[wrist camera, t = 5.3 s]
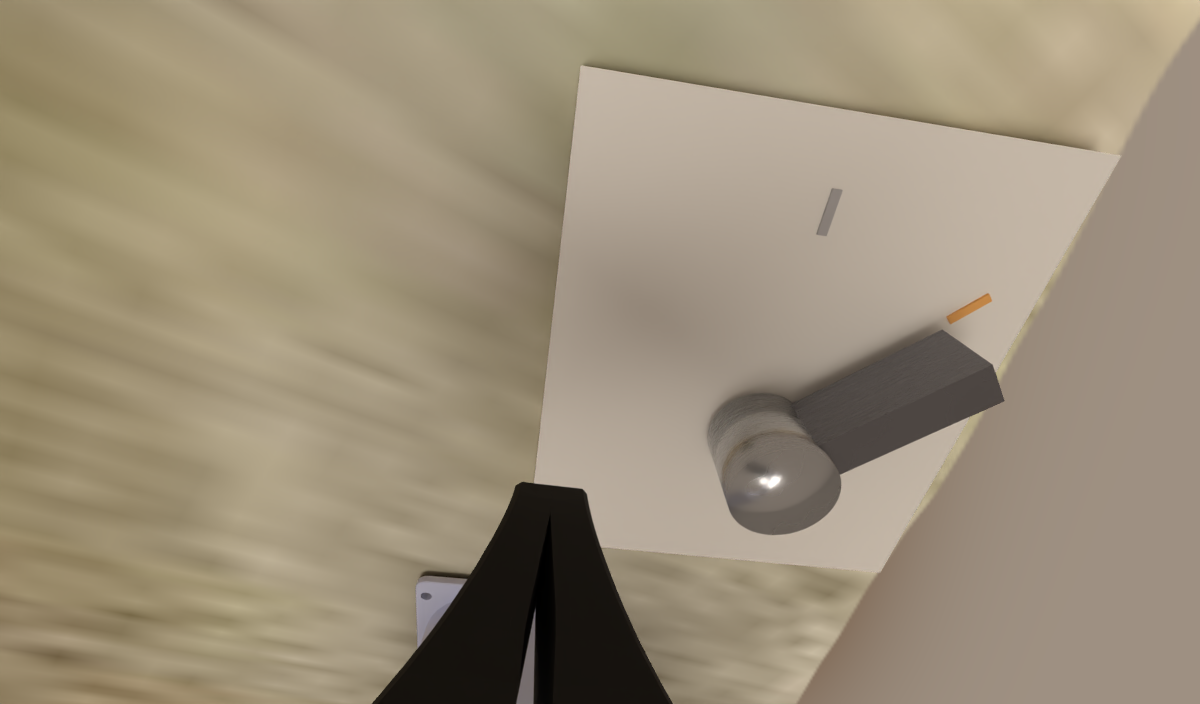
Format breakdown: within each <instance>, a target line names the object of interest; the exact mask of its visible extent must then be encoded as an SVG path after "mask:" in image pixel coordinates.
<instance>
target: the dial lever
mask: <svg viewBox="0 0 1200 704" xmlns="http://www.w3.org/2000/svg"><path fill="white" fill-rule="evenodd" d="M1003 401H1004V399H1003V395H1002V392H1001V389H1000V386H999V383H998V380H997V376H996V373H995V370H994V367H993V364H991V363H990V362H988V361H987V360H985V359H984V358H983V357H981V356H980V355H978V354H977V353H975V352H974V351H972V350H971V349H970V348H968V347H967V346H965V345H964V344H962V343H961V342H960V341H958V340H957V339H955V338H954V337H952V336H951V335H950V334H948V333H947V332H945V331H944V330H940V331H938V332H936V333H934V334H932V335H930V336H928V337H926V338H924V339H922V340H920V341H918V342H916V343H914V344H912V345H910V346H908V347H906V348H903V349H901V350H899V351H897V352H895V353H893V354H891V355H889V356H887V357H885V358H883V359H881V360H879V361H877V362H875V363H873V364H871V365H869V366H867V367H865V368H863V369H861V370H859V371H857V372H855V373H853V374H851V375H849V376H847V377H845V378H843V379H841V380H839V381H837V382H835V383H833V384H831V385H829V386H827V387H825V388H823V389H821V390H818V391H816V392H814V393H812V394H810V395H808V396H806V397H804V398H802V399H800V400H798V401H796V402H794V403H792V402H791V401H790V400H788V399H786V398H785V397H782V396H780V395H776V394H770V393H755V394H750V395H746V396H743V397H740V398H738V399H735V400H733V401H732V402H730V403H728V404H727V405H726V406H724V407H723V408H722V409H721V410H720V411H719V412H718V413H717V414H716V415H715V417H714V418H713V420H712V422H711V424H710V426H709V429H708V435H707V441H708V446H709V450H710V453H711V456H712V459H713V462H714V465H715V468H716V471H717V474H718V477H719V480H720V484H721V487H722V490H723V493H724V496H725V499H726V502H727V505H728V508H729V511H730V513H731V515H732V517H733V518H734V519H735V521H736V522H737V523H739V524H740V525H741V526H743V527H744V528H746V529H748V530H750V531H752V532H756V533H759V534H765V535H784V534H790V533H794V532H798V531H801V530H803V529H806V528H808V527H810V526H812V525H814V524H815V523H817V522H819V521H820V520H821V519H823V518H824V517H825V516H826V515H827V514H828V513H829V512H830V511H831V510H832V508H833V507H834V506H835V504H836V502H837V500H838V498H839V496H840V492H841V478H840V475H841V474H843V473H845V472H847V471H850V470H852V469H854V468H856V467H858V466H861V465H863V464H865V463H867V462H870V461H872V460H874V459H876V458H879V457H881V456H883V455H885V454H888V453H890V452H892V451H894V450H896V449H899V448H901V447H903V446H905V445H908V444H910V443H912V442H914V441H917V440H919V439H921V438H923V437H926V436H928V435H930V434H932V433H934V432H937V431H939V430H941V429H943V428H946V427H948V426H950V425H952V424H955V423H957V422H959V421H961V420H963V419H966V418H968V417H970V416H972V415H975V414H977V413H979V412H981V411H984V410H986V409H988V408H990V407H993V406H995V405H997V404H999V403H1001V402H1003Z"/></svg>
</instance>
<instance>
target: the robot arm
mask: <svg viewBox="0 0 1200 704" xmlns="http://www.w3.org/2000/svg"><path fill="white" fill-rule="evenodd" d="M416 615H417V648H418V649H417V650H416V651H415V653H414V654H413V655H412V656H411V658H410V659H409V660H408V661H407V663H406V664H405V665H404V666H403V668H402V669H401V670H400V671H399V672H398V673H397V675H396V676H395V677H394V678H393V679H392V681H391V682H390V683H389V684H388V685H387V687H386V688H385V689H384V690H383V691H382V692H381V694H380V695H379V696H378V697H377V698H376V700H375V701H374V702H373V703H372V704H673V703H672V701H671V700H670V698H669V696H668V694H667V693H666V691H665V689H664V687H663V686H662V684H661V682H660V680H659V678H658V676H657V674H656V672H655V671H654V669H653V667H652V665H651V663H650V661H649V659H648V657H647V655H646V653H645V651H644V649H643V647H642V645H641V643H640V641H639V639H638V637H637V635H636V633H635V631H634V629H633V626H632V624H631V622H630V620H629V617H628V615H627V613H626V611H625V609H624V606H623V604H622V602H621V599H620V597H619V594H618V592H617V590H616V587H615V584H614V582H613V579H612V577H611V574H610V571H609V569H608V566H607V563H606V561H605V558H604V555H603V552H602V549H601V546H600V543H599V540H598V537H597V534H596V530H595V527H594V523H593V520H592V516H591V512H590V507H589V503H588V497H587V493H586V492H585V491H584V490H583V489H580V488H571V487H562V486H553V485H545V484H536V483H527V482H521V483H520V484H518V485H516V487H515V490H514V493H513V496H512V499H511V501H510V504H509V506H508V508H507V510H506V513H505V515H504V517H503V519H502V521H501V523H500V525H499V527H498V528H497V530H496V532H495V534H494V536H493V538H492V539H491V541H490V543H489V545H488V546H487V548H486V550H485V551H484V553H483V555H482V557H481V558H480V560H479V562H478V563H477V565H476V567H475V568H474V570H473V571H472V573H471V575H470V576H469V578H468V579H462V578H450V577H438V576H423V577H420V578H419V579H418V582H417V585H416Z"/></svg>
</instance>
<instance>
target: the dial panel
mask: <svg viewBox="0 0 1200 704" xmlns="http://www.w3.org/2000/svg"><path fill="white" fill-rule="evenodd" d="M1120 157H1121V155H1115V154H1109V153H1103V152H1097V151H1091V150H1085V149H1079V148H1073V147H1067V146H1061V145H1055V144H1049V143H1043V142H1037V141H1031V140H1025V139H1019V138H1013V137H1007V136H1001V135H995V134H989V133H983V132H977V131H971V130H965V129H959V128H953V127H947V126H941V125H936V124H930V123H924V122H918V121H912V120H906V119H900V118H894V117H888V116H882V115H876V114H870V113H864V112H858V111H852V110H846V109H840V108H834V107H828V106H822V105H816V104H810V103H804V102H798V101H792V100H786V99H780V98H774V97H768V96H762V95H756V94H750V93H744V92H738V91H732V90H726V89H720V88H714V87H708V86H702V85H696V84H690V83H684V82H678V81H672V80H666V79H660V78H654V77H648V76H642V75H636V74H630V73H624V72H618V71H612V70H606V69H600V68H594V67H588V66H582V65H581V68H580V77H579V86H578V94H577V103H576V112H575V121H574V130H573V139H572V148H571V157H570V166H569V175H568V184H567V193H566V202H565V210H564V219H563V228H562V237H561V246H560V255H559V264H558V273H557V282H556V291H555V300H554V309H553V318H552V326H551V335H550V344H549V353H548V362H547V371H546V380H545V389H544V398H543V407H542V416H541V425H540V434H539V442H538V451H537V460H536V469H535V478H534V483H536V484H545V485H553V486H562V487H571V488H580V489H583V490H584V491H585V492H586V493H587V497H588V503H589V507H590V512H591V516H592V520H593V523H594V527H595V530H596V534H597V537H598V540H599V543H600V546H601V547H603V548H614V549H625V550H636V551H647V552H658V553H669V554H680V555H691V556H702V557H713V558H724V559H735V560H746V561H757V562H767V563H778V564H789V565H800V566H811V567H822V568H833V569H844V570H855V571H866V572H877V573H880V572H881V570H882V568H883V567H884V565H885V563H886V561H887V560H888V558H889V556H890V554H891V553H892V551H893V549H894V548H895V546H896V544H897V542H898V541H899V539H900V537H901V535H902V534H903V532H904V530H905V529H906V527H907V525H908V523H909V522H910V520H911V518H912V516H913V515H914V513H915V511H916V510H917V508H918V506H919V504H920V503H921V501H922V499H923V497H924V496H925V494H926V492H927V491H928V489H929V487H930V485H931V484H932V482H933V480H934V479H935V477H936V475H937V473H938V472H939V470H940V468H941V466H942V465H943V463H944V461H945V460H946V458H947V456H948V454H949V453H950V451H951V449H952V447H953V446H954V444H955V442H956V441H957V439H958V437H959V435H960V434H961V432H962V430H963V428H964V427H965V425H966V423H967V422H968V420H969V418H970V417H968V418H966V419H963V420H961V421H959V422H957V423H955V424H952V425H950V426H948V427H946V428H943V429H941V430H939V431H937V432H934V433H932V434H930V435H928V436H926V437H923V438H921V439H919V440H917V441H914V442H912V443H910V444H908V445H905V446H903V447H901V448H899V449H896V450H894V451H892V452H890V453H888V454H885V455H883V456H881V457H879V458H876V459H874V460H872V461H870V462H867V463H865V464H863V465H861V466H858V467H856V468H854V469H852V470H850V471H847V472H845V473H843V474H841V475H840V478H841V492H840V496H839V498H838V500H837V502H836V504H835V506H834V507H833V508H832V510H831V511H830V512H829V513H828V514H827V515H826V516H825V517H824V518H823V519H821V520H820V521H819V522H817V523H815V524H814V525H812V526H810V527H808V528H806V529H803V530H801V531H798V532H794V533H790V534H784V535H765V534H759V533H756V532H752V531H750V530H748V529H746V528H744V527H743V526H741V525H740V524H739V523H737V522H736V521H735V519H734V518H733V517H732V515H731V513H730V511H729V508H728V505H727V502H726V499H725V496H724V493H723V490H722V487H721V484H720V480H719V477H718V474H717V471H716V468H715V465H714V462H713V459H712V456H711V453H710V450H709V446H708V441H707V435H708V429H709V426H710V424H711V422H712V420H713V418H714V417H715V415H716V414H717V413H718V412H719V411H720V410H721V409H722V408H723V407H724V406H726V405H727V404H728V403H730V402H732V401H733V400H735V399H738V398H740V397H743V396H746V395H750V394H755V393H770V394H776V395H780V396H782V397H785V398H786V399H788V400H790V401H791V402H792V403H794V402H796V401H798V400H800V399H802V398H804V397H806V396H808V395H810V394H812V393H814V392H816V391H818V390H821V389H823V388H825V387H827V386H829V385H831V384H833V383H835V382H837V381H839V380H841V379H843V378H845V377H847V376H849V375H851V374H853V373H855V372H857V371H859V370H861V369H863V368H865V367H867V366H869V365H871V364H873V363H875V362H877V361H879V360H881V359H883V358H885V357H887V356H889V355H891V354H893V353H895V352H897V351H899V350H901V349H903V348H906V347H908V346H910V345H912V344H914V343H916V342H918V341H920V340H922V339H924V338H926V337H928V336H930V335H932V334H934V333H936V332H938V331H940V330H944V331H945V332H947V333H948V334H950V335H951V336H952V337H954V338H955V339H957V340H958V341H960V342H961V343H962V344H964V345H965V346H967V347H968V348H970V349H971V350H972V351H974V352H975V353H977V354H978V355H980V356H981V357H983V358H984V359H985V360H987V361H988V362H990V363H991V364H993V367H994V370H995V373H996V371H997V370H998V368H999V366H1000V365H1001V363H1002V361H1003V359H1004V358H1005V356H1006V354H1007V352H1008V351H1009V349H1010V347H1011V346H1012V344H1013V342H1014V340H1015V339H1016V337H1017V335H1018V333H1019V332H1020V330H1021V328H1022V327H1023V325H1024V323H1025V321H1026V320H1027V318H1028V316H1029V315H1030V313H1031V311H1032V309H1033V308H1034V306H1035V304H1036V302H1037V301H1038V299H1039V297H1040V296H1041V294H1042V292H1043V290H1044V289H1045V287H1046V285H1047V283H1048V282H1049V280H1050V278H1051V277H1052V275H1053V273H1054V271H1055V270H1056V268H1057V266H1058V264H1059V263H1060V261H1061V259H1062V258H1063V256H1064V254H1065V252H1066V251H1067V249H1068V247H1069V245H1070V244H1071V242H1072V240H1073V239H1074V237H1075V235H1076V233H1077V232H1078V230H1079V228H1080V226H1081V225H1082V223H1083V221H1084V220H1085V218H1086V216H1087V214H1088V213H1089V211H1090V209H1091V207H1092V206H1093V204H1094V202H1095V201H1096V199H1097V197H1098V195H1099V194H1100V192H1101V190H1102V188H1103V187H1104V185H1105V183H1106V182H1107V180H1108V178H1109V176H1110V175H1111V173H1112V171H1113V169H1114V168H1115V166H1116V164H1117V163H1118V161H1119V159H1120Z"/></svg>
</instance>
